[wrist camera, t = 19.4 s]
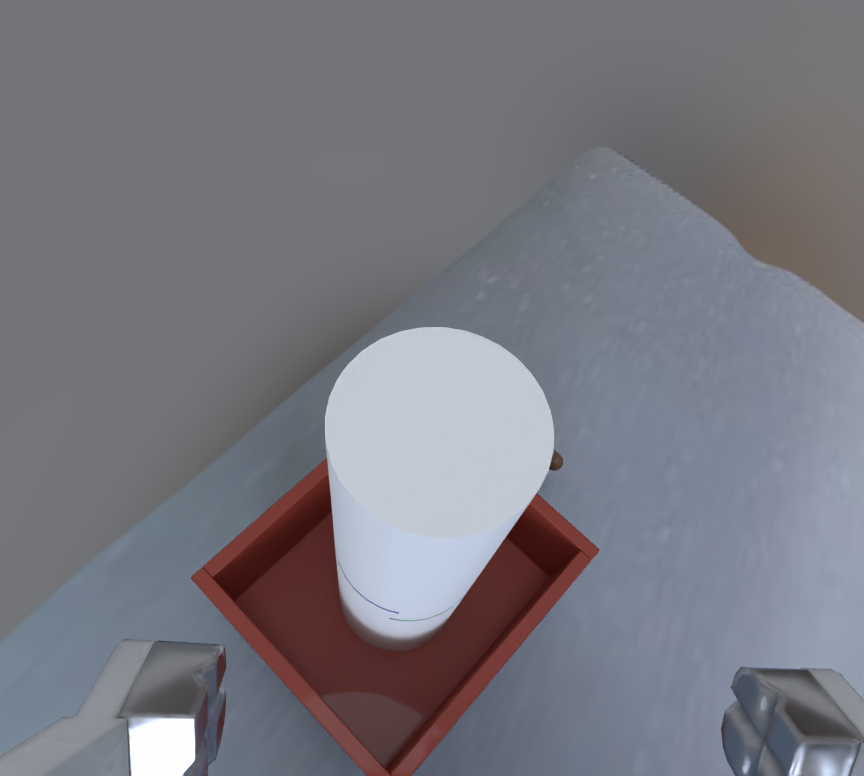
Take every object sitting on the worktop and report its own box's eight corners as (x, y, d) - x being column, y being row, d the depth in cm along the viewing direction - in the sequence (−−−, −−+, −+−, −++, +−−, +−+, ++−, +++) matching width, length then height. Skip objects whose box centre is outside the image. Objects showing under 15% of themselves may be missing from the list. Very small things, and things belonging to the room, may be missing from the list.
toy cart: (449, 406, 55) (470, 331, 45) (596, 537, 51) (653, 486, 41) (224, 614, 46) (189, 577, 36) (381, 790, 42) (389, 801, 32)
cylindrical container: (369, 516, 46) (384, 296, 24) (470, 562, 45) (582, 377, 23) (319, 621, 42) (281, 476, 20) (426, 671, 42) (508, 578, 20)
